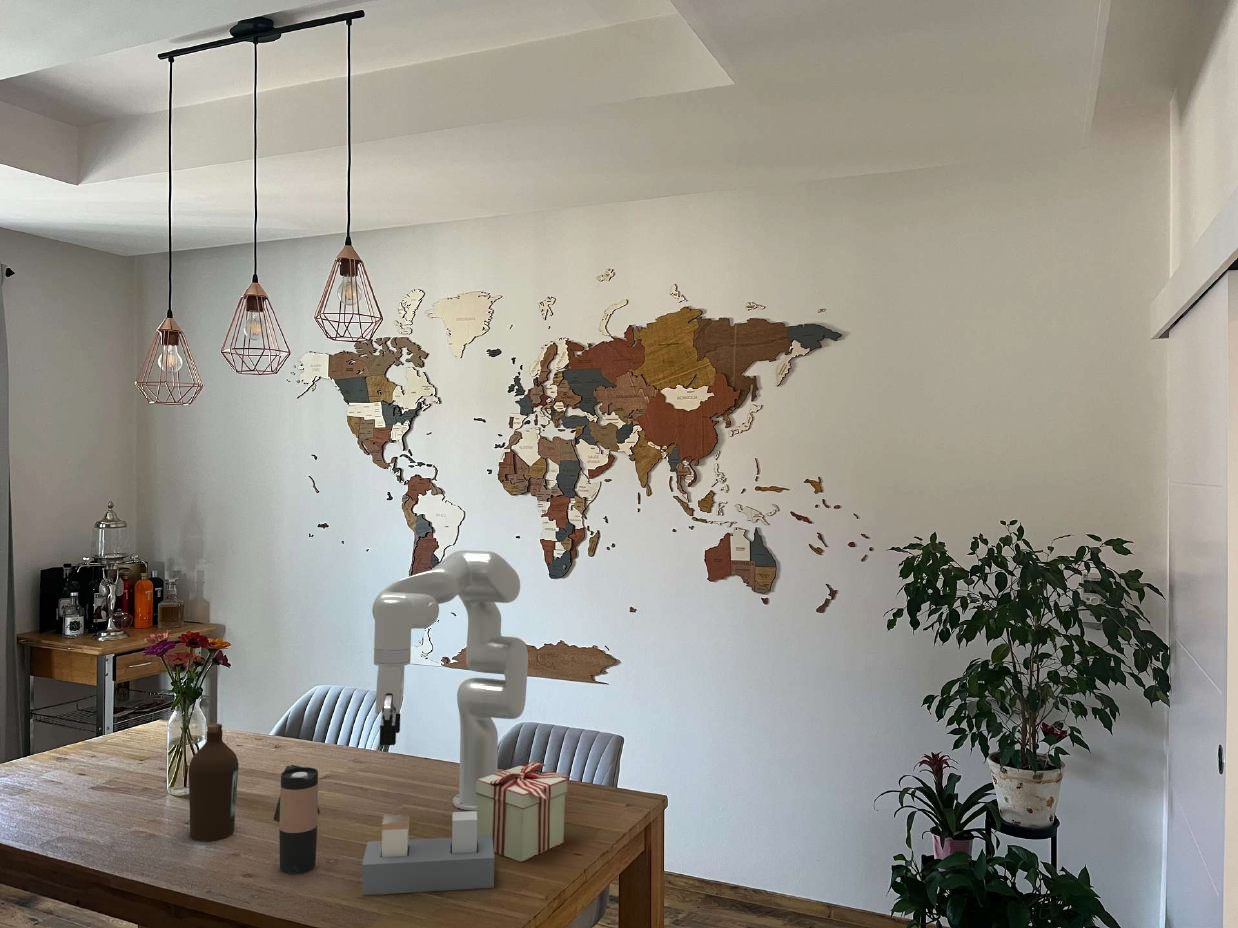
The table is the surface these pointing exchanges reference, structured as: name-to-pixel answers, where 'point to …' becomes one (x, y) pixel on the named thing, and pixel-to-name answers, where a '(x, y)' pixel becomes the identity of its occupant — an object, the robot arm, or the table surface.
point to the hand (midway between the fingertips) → (389, 738)
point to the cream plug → (395, 835)
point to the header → (433, 862)
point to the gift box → (522, 810)
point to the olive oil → (213, 788)
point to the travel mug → (298, 820)
